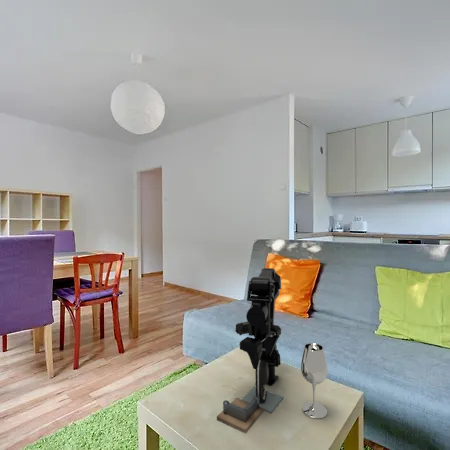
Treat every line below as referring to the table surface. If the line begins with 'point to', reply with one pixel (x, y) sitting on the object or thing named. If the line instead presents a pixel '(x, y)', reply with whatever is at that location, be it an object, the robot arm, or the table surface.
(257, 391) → the battery charger
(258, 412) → the rail board
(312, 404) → the wineglass
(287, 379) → the table surface
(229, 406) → the bent rail
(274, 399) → the end mat
